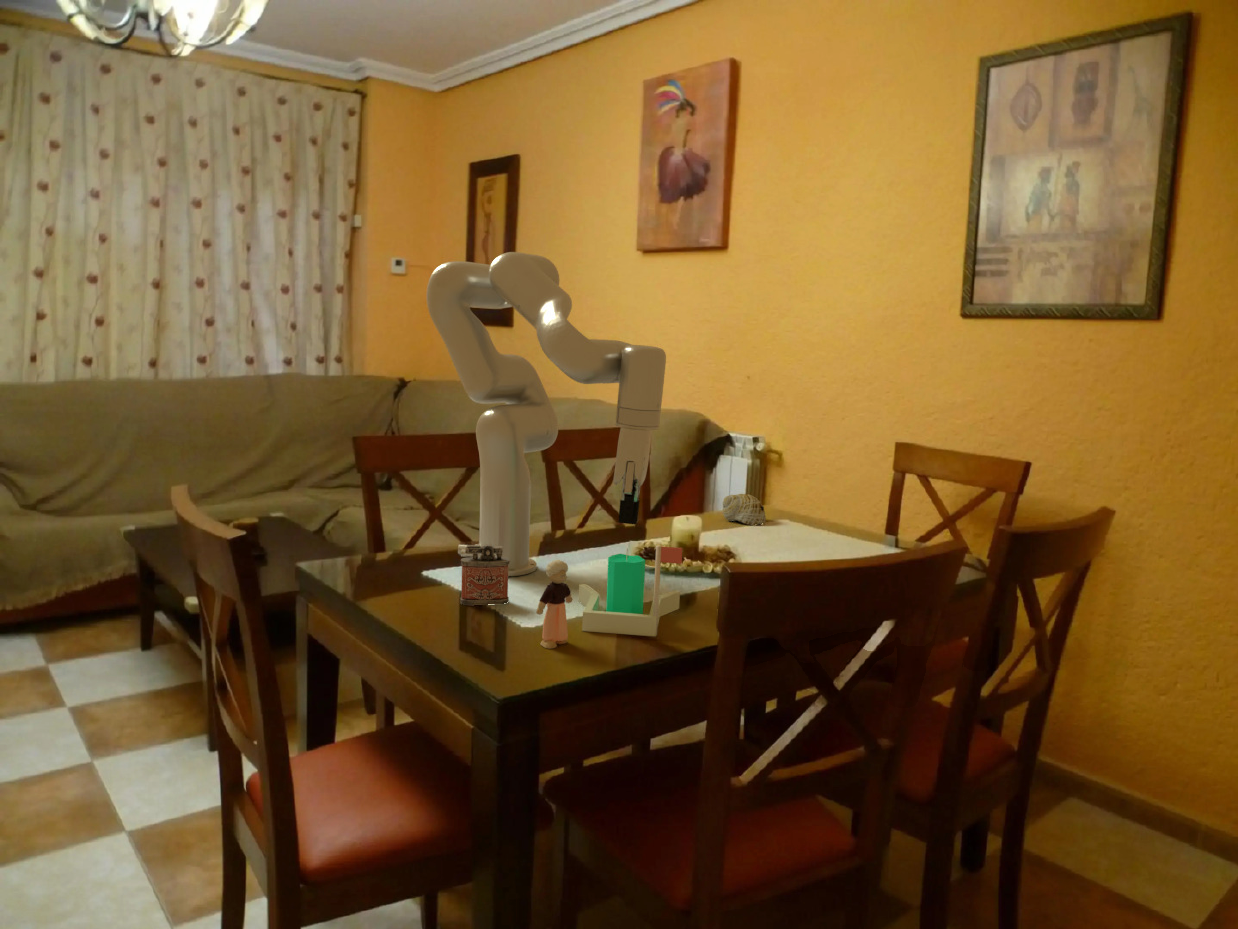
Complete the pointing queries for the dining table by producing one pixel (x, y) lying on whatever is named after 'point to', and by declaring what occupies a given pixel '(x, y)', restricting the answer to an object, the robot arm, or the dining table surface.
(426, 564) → the dining table surface
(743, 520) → the seashell
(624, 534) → the dining table surface
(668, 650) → the dining table surface
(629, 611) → the candle
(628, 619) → the white tray with post
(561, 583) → the grandmother figurine
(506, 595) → the lighter
